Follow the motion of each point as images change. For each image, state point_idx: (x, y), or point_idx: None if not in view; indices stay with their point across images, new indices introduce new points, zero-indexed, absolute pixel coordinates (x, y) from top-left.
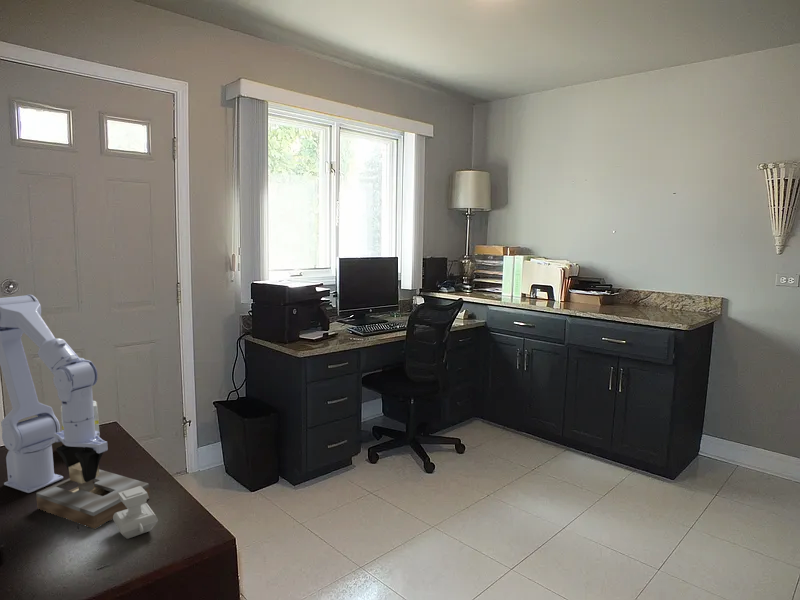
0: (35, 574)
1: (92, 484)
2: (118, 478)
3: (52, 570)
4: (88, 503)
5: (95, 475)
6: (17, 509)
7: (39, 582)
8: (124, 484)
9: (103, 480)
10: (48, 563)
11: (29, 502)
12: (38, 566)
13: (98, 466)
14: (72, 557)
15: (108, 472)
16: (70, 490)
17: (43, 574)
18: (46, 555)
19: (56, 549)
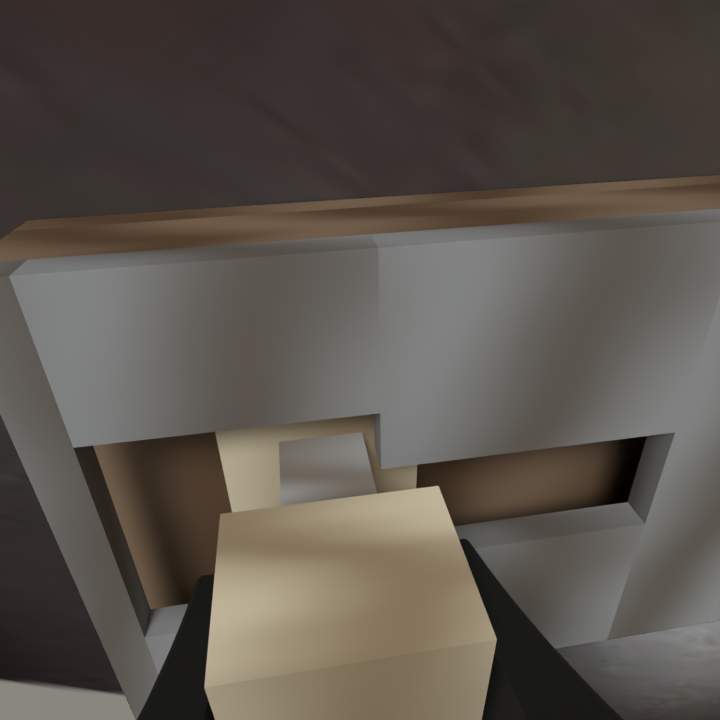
0: (653, 708)
1: (370, 469)
2: (531, 299)
3: (692, 682)
4: (618, 601)
5: (480, 562)
6: (63, 655)
7: (697, 709)
8: (684, 340)
9: (418, 400)
10: (648, 680)
11: (13, 606)
12: (628, 697)
13: (472, 582)
14: (708, 635)
15: (279, 266)
16: (102, 457)
17: (678, 698)
18: (601, 673)
19: (607, 649)
